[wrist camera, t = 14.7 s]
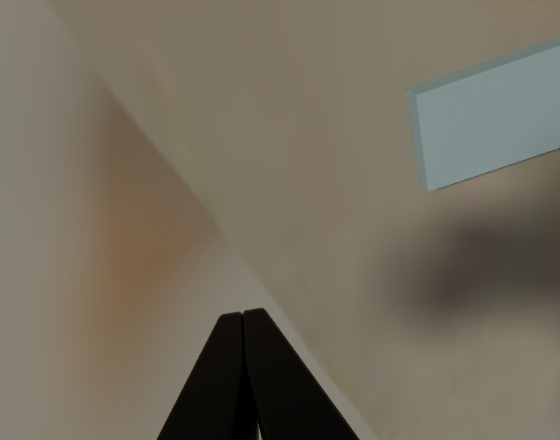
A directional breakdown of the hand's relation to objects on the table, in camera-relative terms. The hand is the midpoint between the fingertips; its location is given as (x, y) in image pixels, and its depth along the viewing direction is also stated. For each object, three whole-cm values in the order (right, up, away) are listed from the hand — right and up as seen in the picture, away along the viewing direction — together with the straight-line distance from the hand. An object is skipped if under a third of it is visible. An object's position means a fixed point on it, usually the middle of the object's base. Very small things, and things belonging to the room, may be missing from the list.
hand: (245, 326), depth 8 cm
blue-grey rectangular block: (+7, +6, +12) cm, 15 cm away
